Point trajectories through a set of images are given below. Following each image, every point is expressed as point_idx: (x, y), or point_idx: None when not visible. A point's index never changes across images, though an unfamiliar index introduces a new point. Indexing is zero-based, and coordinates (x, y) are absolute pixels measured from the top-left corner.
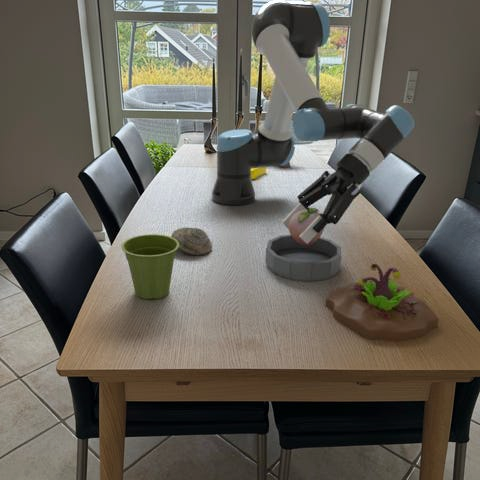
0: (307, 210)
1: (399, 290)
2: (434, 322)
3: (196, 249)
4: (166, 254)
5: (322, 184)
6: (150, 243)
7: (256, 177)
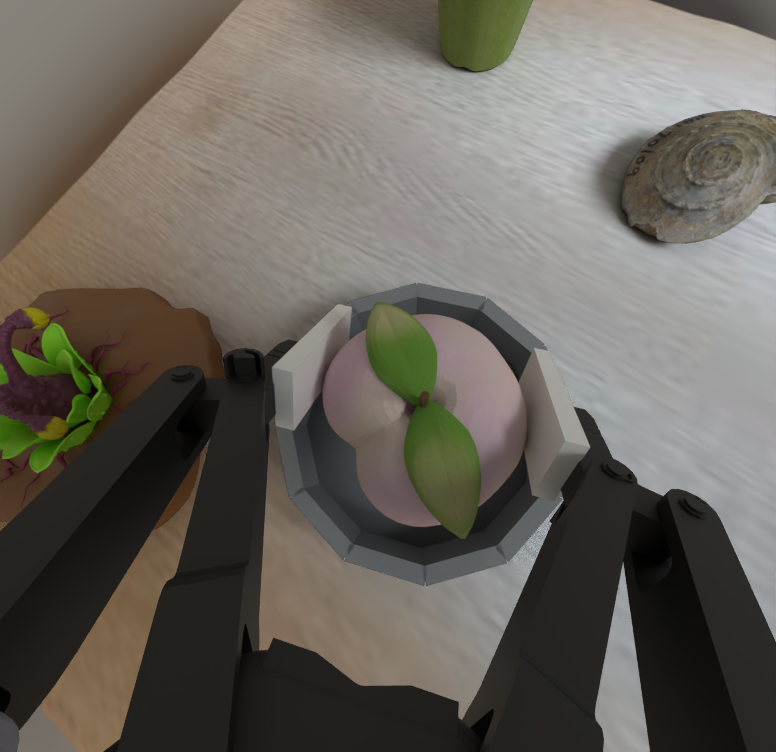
0: (446, 413)
1: None
2: None
3: (638, 171)
4: None
5: (551, 711)
6: None
7: None
